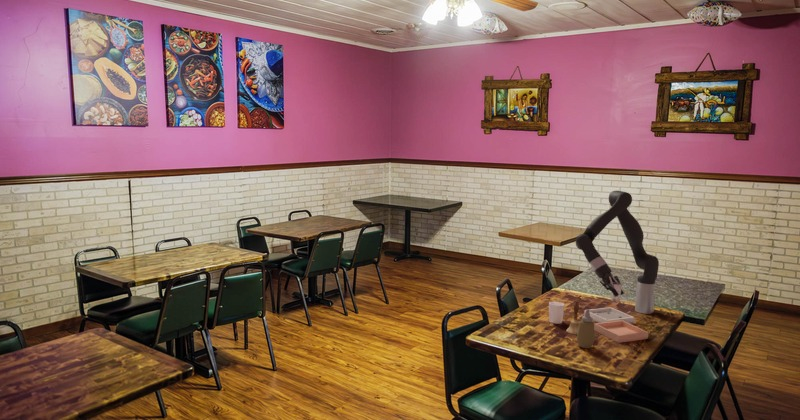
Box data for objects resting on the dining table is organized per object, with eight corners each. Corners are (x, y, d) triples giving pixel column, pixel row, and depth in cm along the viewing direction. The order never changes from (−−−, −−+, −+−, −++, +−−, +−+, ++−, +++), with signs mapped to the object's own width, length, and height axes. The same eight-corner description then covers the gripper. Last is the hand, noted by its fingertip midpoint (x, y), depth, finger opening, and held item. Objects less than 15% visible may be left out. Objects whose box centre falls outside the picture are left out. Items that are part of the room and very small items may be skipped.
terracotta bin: (621, 326, 295) (622, 320, 295) (647, 338, 278) (648, 331, 278) (593, 330, 289) (594, 323, 288) (618, 342, 272) (619, 335, 272)
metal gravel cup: (616, 299, 293) (617, 282, 292) (622, 301, 289) (623, 284, 288) (609, 300, 292) (610, 282, 291) (615, 302, 288) (616, 285, 287)
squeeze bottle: (573, 343, 270) (576, 307, 267) (589, 343, 271) (592, 306, 268) (580, 349, 262) (582, 312, 259) (597, 349, 263) (599, 312, 260)
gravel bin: (610, 313, 317) (610, 307, 317) (633, 323, 300) (634, 317, 300) (584, 316, 311) (584, 310, 310) (606, 326, 294) (607, 320, 294)
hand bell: (564, 328, 290) (566, 298, 288) (580, 329, 290) (582, 299, 288) (568, 334, 282) (570, 303, 280) (585, 335, 282) (587, 304, 279)
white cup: (563, 320, 303) (564, 302, 302) (562, 325, 296) (564, 306, 294) (548, 318, 306) (549, 300, 304) (547, 323, 298) (548, 304, 297)
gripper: (597, 265, 289) (617, 293, 282) (612, 261, 298) (632, 289, 291) (587, 272, 294) (607, 301, 286) (602, 269, 303) (621, 296, 295)
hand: (619, 295), depth 289 cm, fingers closed on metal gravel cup, 4 cm apart
